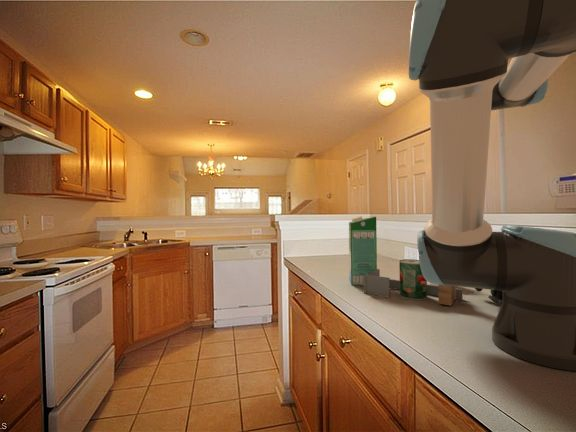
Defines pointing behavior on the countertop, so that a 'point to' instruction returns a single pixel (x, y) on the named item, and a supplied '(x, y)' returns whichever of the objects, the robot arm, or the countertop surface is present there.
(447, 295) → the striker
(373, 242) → the milk carton
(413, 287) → the canned tomato
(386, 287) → the frame
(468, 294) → the countertop surface
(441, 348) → the countertop surface
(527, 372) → the countertop surface
